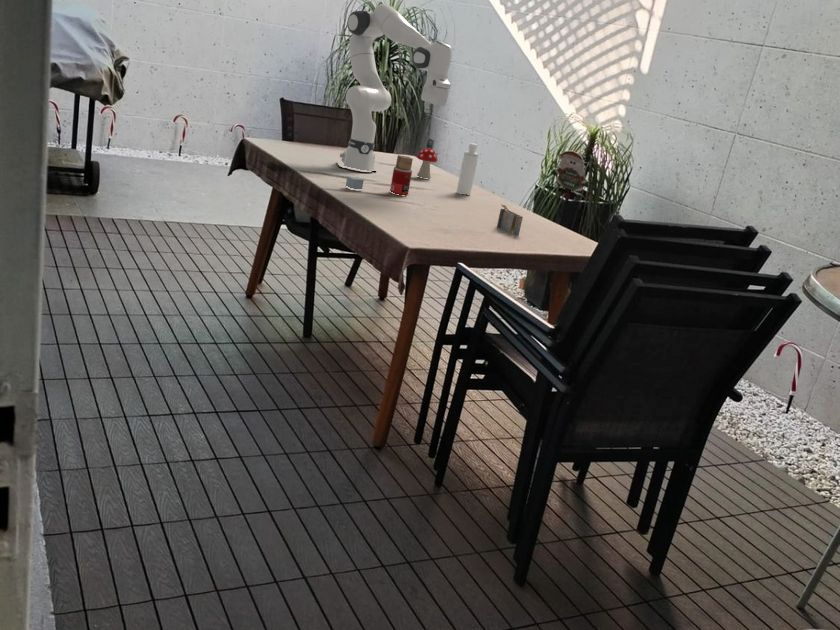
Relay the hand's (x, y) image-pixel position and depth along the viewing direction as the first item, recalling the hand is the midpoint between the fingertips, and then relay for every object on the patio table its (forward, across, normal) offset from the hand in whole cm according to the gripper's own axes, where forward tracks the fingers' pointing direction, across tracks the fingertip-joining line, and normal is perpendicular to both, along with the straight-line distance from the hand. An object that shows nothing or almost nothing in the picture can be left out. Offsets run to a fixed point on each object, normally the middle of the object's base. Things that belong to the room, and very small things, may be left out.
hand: (430, 114), depth 350 cm
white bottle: (+34, -8, +27) cm, 44 cm away
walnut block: (+23, +10, -12) cm, 28 cm away
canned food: (+34, +10, -12) cm, 38 cm away
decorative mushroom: (+34, -37, +18) cm, 54 cm away
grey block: (+34, +12, -33) cm, 49 cm away
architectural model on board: (+35, +60, +16) cm, 71 cm away
